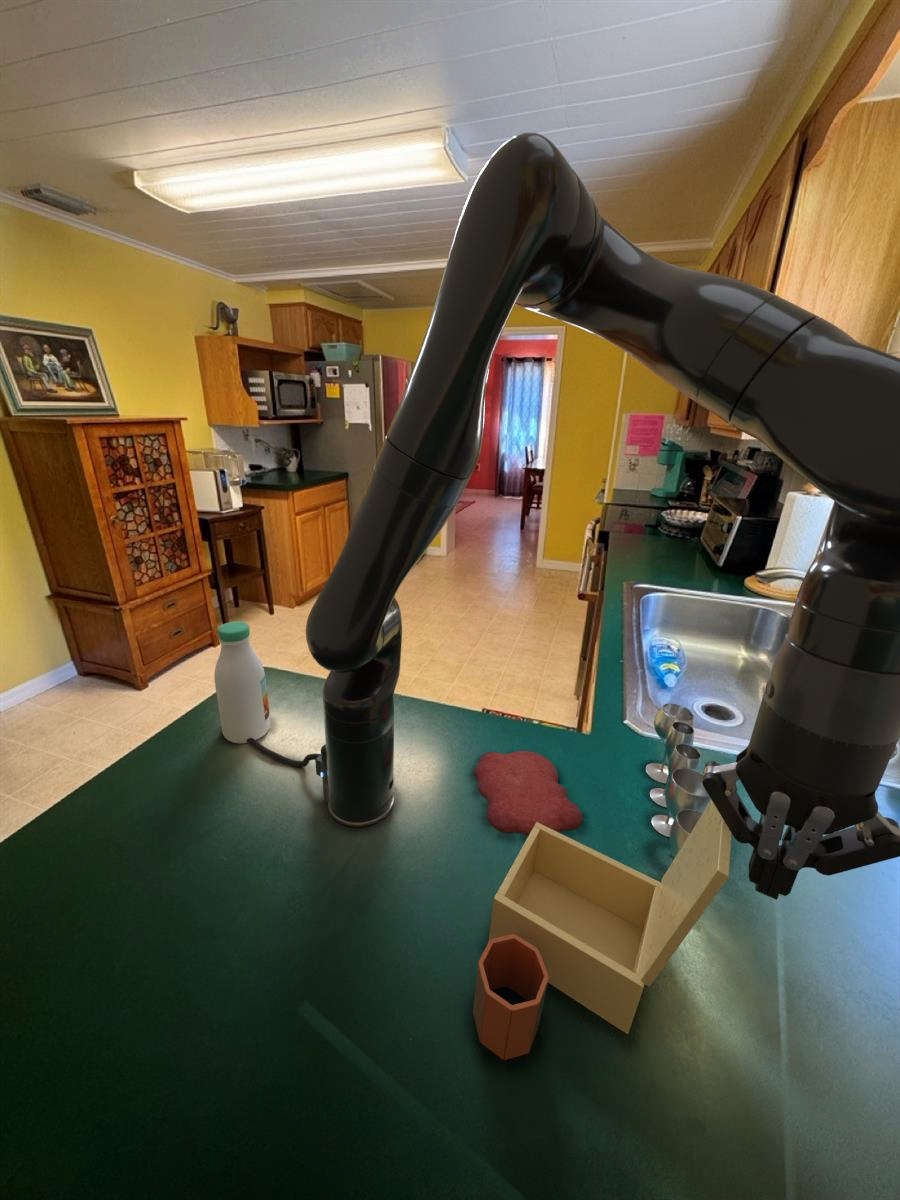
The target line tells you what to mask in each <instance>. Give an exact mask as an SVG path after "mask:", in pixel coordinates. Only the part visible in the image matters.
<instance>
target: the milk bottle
mask: <svg viewBox="0 0 900 1200" xmlns="http://www.w3.org/2000/svg"><path fill="white" fill-rule="evenodd" d="M217 636H218V642H219V644H221V647H220V652H219V655H218V658H217V660H216V664H215V668H214V686H215V687H214V688H215V694H216V701H217V707H218V713H219V720H220V726H221V730H222V731H221V732H222V735H223V737H224V738H225V739H226V740H227V741H228V742H231V743H234V744H247V743H248V742H247V739H248V738H253V739H254V740H256V741H257V740H259V739H261V738H263V737H264V736H265V735H266V734H267V733H268V732H269V730H270V728H271V714H270V704H269V697H268V689H267V681H266V674H265V669H264V665H263V662H262V660H261V657H259V655H258V653H256V651H255V650H254V648H253V646H252V644H251V641H250V639H251V629H250V625H249V623H247V622H245V621H229V622H226V623H223V624H221V625H220V626H219V627H217Z"/></svg>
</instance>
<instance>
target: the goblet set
mask: <svg viewBox="0 0 900 1200" xmlns="http://www.w3.org/2000/svg"><path fill="white" fill-rule="evenodd" d="M695 722H696V721H695V715H694V713H693V712H692V710H690V709H689V708H688V707H686V706H683V705H681V704H677V703H665V704H663V705H661V707H660V708H659V710H658V711H657V712H656V714H655V716H654V719H653V728H654V731H655V733H656V734H657V736H658V737H659V739H660V740H661V741H662V743H663V745H664V754H663V759H662V761H661V763H658V762H651V763H649V764H647V765H646V767H645V772H646V774H647V776H648V777H650V778H651V779H652V780H654V781H655V782H658V783H660V784H664V785H665V786H664V788H660V787H655V788H652V789H651V790H650V791H649V797H650V798H651V800H652V801H653V802H654V803H655V804H656V805H658V806H661V807H663V808H667V809H666V810H667V811H668V812H667V813H668V814H667V815H664V814H656V815H654V816H653V817H651V825H652V828H653V829H655V831H656V832H657V833H659V835H662V836H664V837H667V838H669V844H670V849H669V852H668V856H669V857H673V855H674V858H675V857H676V856H677V854H678V852H679V851H680V849H681V848H682V846H683V844H684V843H685V841H686V839H687V838H688V836H689V835H690V833H691V831H692V830H693V828H694V827H695V825H696V823H697V822H698V820H699V819H700V817H701V815H702V814H703V812H704V811H705V809H706V807H707V806H708V804H709V802H710V801H711V798H710V796H709V795H708V793H707V791H706V790H705V788H704V787H703V784H702V782H703V774H704V773H702V772H700V769H701V763H702V754H701V752H700V750H699V749H697V748H696V747H695V746H694V741H695V729H696V723H695ZM666 761H668V765H665V764H666Z"/></svg>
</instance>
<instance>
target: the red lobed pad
mask: <svg viewBox="0 0 900 1200" xmlns="http://www.w3.org/2000/svg"><path fill="white" fill-rule="evenodd" d="M478 760H479V761H478V763H477V764H476V766H475V768H474V771H473V775H474V777H475V779H476V780H477V790H478V792H479V794H480V795H481V796H482V797H483V798H484V799H485V800H486V801H487V803H488V808H487V810H486V820H487V821H488V823H489V825H490V826H491V827H492V828H494V830H497V831H499V832H501V833H506V834H513V833H520V834H523V835H526V836H527V837H528V836H529V835H530V833H531V831H532V829H533V827H534V826H535V824H536V822H538V823H540V824H542V825H544V826H546V827H548V828H550V829H552V830H554V831H556V832H558V833H560V832H561V831H571V830H576V829H577V828H579V827H581V825H582V823H583V819H584V816H583V812H582V811H581V809H580V807H578V806H577V804H575V803H574V802H572V801H571V800H569V794H568V790H567V789H566V788H565V787H564V786H562V785H561V784H559V773H558V770H557V768H556V766H555V765H554V763H552V761H551V760H549V759H548V758H547V757H545V756H544V755H542V754H540V753H537V752H534V751H531V750H518V751H512V752H510V753H502V752H499V751H489V752H486V753H484V754H483V755H481V756H480V758H479V759H478Z"/></svg>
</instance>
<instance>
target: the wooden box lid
mask: <svg viewBox="0 0 900 1200" xmlns="http://www.w3.org/2000/svg"><path fill="white" fill-rule="evenodd" d="M732 836H733V835H732V833H731V831H730V830H729V828H728V826H727V825H726V823H725V821H724V820H723V818H722V816H721V815H720V813H719V811H718V810H717V808H716V806H715V805H714V803H713V801H712V800H711V801H710V802H709V804H708V806H707V807H706V809H705V811H704V812H703V814H702V815H701V817H700V819H699V820H698V822H697V823H696V825H695V827H694V828H693V830H692V831H691V833H690V835H689V836H688V838H687V839H686V841H685V843H684V844H683V846H682V848H681V849H680V851H679V852H678V854H677V856H676V857H675V856H674V859H673V860H672V862H671V864H670V865H669V867H668V868H667V870H666V872H665V873H664V874H663V877H662V878H661V881H660V882H661V886H660V891H659V895H658V900H657V905H656V910H655V915H654V919H653V924H652V929H651V934H650V938H649V943H648V948H647V953H646V957H645V962H644V967H643V972H642V976H641V982H643V983H644V985H645V986H647V987H648V988H649V987H651V985H652V984H653V983H654V982H655V980H656V979H657V978H658V976H659V974H660V973H661V972H662V970H663V969H664V968H665V966H666V965H667V964H668V962H669V961H670V960H671V958H672V957H673V955H674V954H675V952H676V951H677V950H678V949H679V947H680V946H681V944H682V942H684V940H685V939H686V937H687V936H688V935H689V933H690V932H691V930H692V929H693V928H694V926H695V925H696V923H697V922H698V921H699V919H700V918H701V916H702V915H703V914H704V913H705V911H706V910H707V908H708V907H709V906H710V904H711V903H712V901H713V900H714V898H715V897H716V896H717V894H718V893H719V892H720V890H721V889H722V887H723V886H724V885H725V883H726V882H727V880H728V879H729V878H730V868H731V851H732V850H731V849H732Z"/></svg>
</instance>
